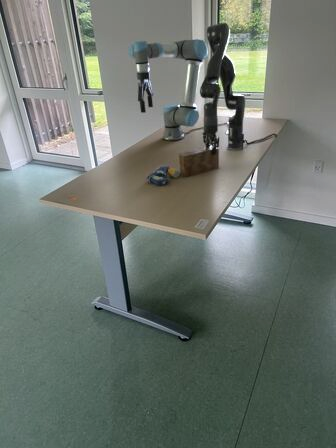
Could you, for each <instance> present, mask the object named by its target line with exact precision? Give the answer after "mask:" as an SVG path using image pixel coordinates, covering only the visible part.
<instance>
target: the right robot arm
mask: <svg viewBox="0 0 336 448" xmlns="http://www.w3.org/2000/svg"><path fill="white" fill-rule="evenodd" d="M230 31H231V30H230V27H229V25H228V23H227V22H221V23H216V24H212V25H211V24H210V25H209V26H208V27H207V28H206V40H207V43H208V45H209V47H210V50H211V53H212V55H211V57H210V59H209V60H208V62H207V65H206V71H205V76H204V78H203V81H202V83H201V85H200V87H199V95H200V97H201V98H202V99H212V101H209V102H205V103H204V104H203V127H204V128H203V132H202V140H203V144H204V145H205V147H209V146H212V155H216V148H219V147H220V137H219V136H217V132H218V131H219V119H218V118H219V117H218V103H219V99H220V95H221V91H222V92H223V97H224V102H225V103H224V104H225V107H226V109H227V110H229V111H235V113H234V114H232V115H230V116H229V117H228V119H227V120H228V121H227V122H228V123H227V124H228V125H227V131H228V134H227V149H228V150H229V151H230V150H231V151H238V150H241V149H244V146H245V145H244V144H247V145H250V144H253V143H256V142H260V141H264V140H266V139H267V138H270V137H272V136H275V137H276V136H277V134H276V133H271V134H269V135H267V136H265V137H262V138H260V139H256V140H253V141H250V142H248V140H246V139H245V133H244V117H245V110H246V98H245V96H244V95H243V94H234V92H233V85H234V82H235V79H236V69H235V65H234V61H232V59H231V58H230V57H229V55H227V54H226V50H227V46H228V44H229V40H230V35H231V34H230ZM219 80H220V84H221V85H220V84H219V83H216V82H218V81H219ZM221 88H222V89H221ZM219 149H220V148H219Z"/></svg>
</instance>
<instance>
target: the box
mask: <svg viewBox="0 0 336 448" xmlns="http://www.w3.org/2000/svg"><path fill="white" fill-rule="evenodd" d="M178 158H179V159H178V160H179V175H181V176H182V177H184V178H187V177H191V176H195V175H198V174H202V173H207V172H210V171H214V170H218V169H219V168H220V148H216V155H212V145H210V146H209V147H206V146H204V147H201V148H196V149H192V150H188V151H183V152H180V153H178Z"/></svg>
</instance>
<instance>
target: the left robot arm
mask: <svg viewBox="0 0 336 448" xmlns="http://www.w3.org/2000/svg"><path fill="white" fill-rule="evenodd" d="M208 51H209V50H208V45H207V43H206V41H205V40H203V39H198V38H197V39H183V40H179V41H171V42H169V43H160V42H153V43H148V42H147V41H146V40H139V41H134V42H133V44H132V43H131V44H130V45H129V47H128V55H129V57H130V58H132V59H134V61H135V71H136V80H139V82H137V86H138V87H137V88H138V89H137V102H139V106H140V113H141V114H142V113H143V114H145V113H146V112H147V110H146V102H145V95H146V94H147V107H148V108H153V107H154V104H153V96H154V92H153V88H152V87H153V86H152V84H151V72H150V66H151V65H150V62H149V59H150V60H151V59H158V58H170V59H177V60H184V62H185V64H186V68H185V69H186V70H185V78H184V85H183V94H182V102H181V103H180V104H171V105H166V106H165V107H163V113H162V114H163V123H164V130H163V135H162V139H163V140H164V141H167V142H176V141H180V140H182V139H184V137H185V136H184V134H186V135H187V134H190V132H193V131H195V130H196V131H197V130H200V129H204V126H203V127H196V128H192V127H194V126H195V125H196V124H197V123H198V121H199V119H200V112H199V111H198V110H197V109H198V108H197V105H196V98H197V90H198V82H199V74H200V67H201V66H202V65H203V62H204V60H206V59H207V58H208ZM227 124H228V121H227V122H224V123H218V126H223V125H227ZM182 126H183V127H191V128H192V129H190V130H189V131H187V132H183V129H182Z"/></svg>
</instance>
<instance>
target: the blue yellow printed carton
mask: <svg viewBox="0 0 336 448" xmlns="http://www.w3.org/2000/svg"><path fill="white" fill-rule="evenodd" d="M167 175H169V176H171V177H172V178H174V179H178V177H179V176H180V170H177V169H176V168H174V167H170V166H169V165H168V164H167V165H159V166H158V167H157V168H156V169H155V170H154V171H153V172H151V173H150V174H149V175H148V176H146V182H148V183H150V184H151V183H153V184H154V185H157V186H162V185H166V184H167V183H168V182H169V180H170V179H169V177H167Z"/></svg>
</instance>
